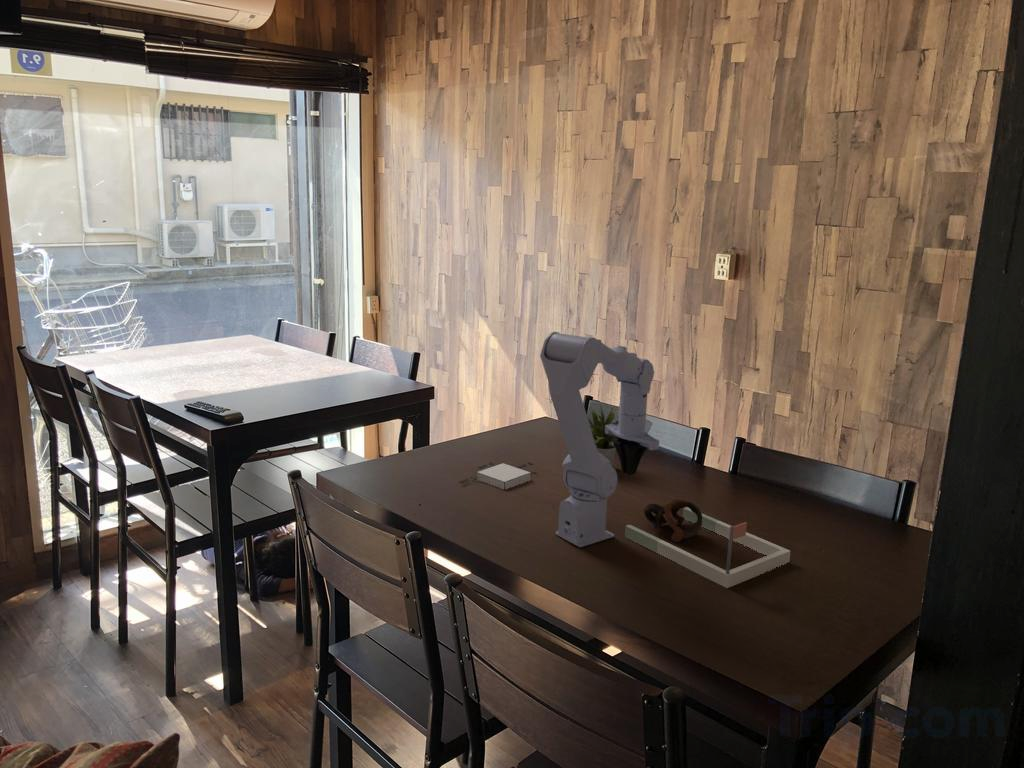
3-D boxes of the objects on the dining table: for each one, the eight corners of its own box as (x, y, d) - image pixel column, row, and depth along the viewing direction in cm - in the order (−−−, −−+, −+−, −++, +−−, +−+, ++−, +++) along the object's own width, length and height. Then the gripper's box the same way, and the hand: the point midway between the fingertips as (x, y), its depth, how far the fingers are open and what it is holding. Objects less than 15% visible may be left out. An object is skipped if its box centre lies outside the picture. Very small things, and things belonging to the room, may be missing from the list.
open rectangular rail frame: (726, 588, 144) (732, 528, 141) (624, 537, 165) (628, 484, 162) (789, 562, 155) (795, 506, 152) (686, 517, 175) (690, 467, 172)
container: (488, 497, 185) (488, 486, 185) (454, 484, 193) (454, 474, 192) (545, 476, 200) (545, 466, 199) (511, 465, 208) (511, 455, 207)
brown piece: (694, 526, 172) (707, 502, 167) (690, 561, 165) (704, 537, 160) (640, 509, 173) (652, 484, 167) (634, 542, 166) (646, 518, 160)
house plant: (629, 482, 196) (632, 417, 192) (572, 476, 199) (575, 413, 195) (632, 463, 210) (636, 403, 206) (579, 458, 212) (582, 399, 209)
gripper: (670, 418, 168) (666, 479, 171) (622, 402, 180) (619, 460, 183) (646, 423, 164) (642, 485, 167) (599, 407, 175) (596, 466, 179)
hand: (629, 472), depth 175 cm, fingers closed
